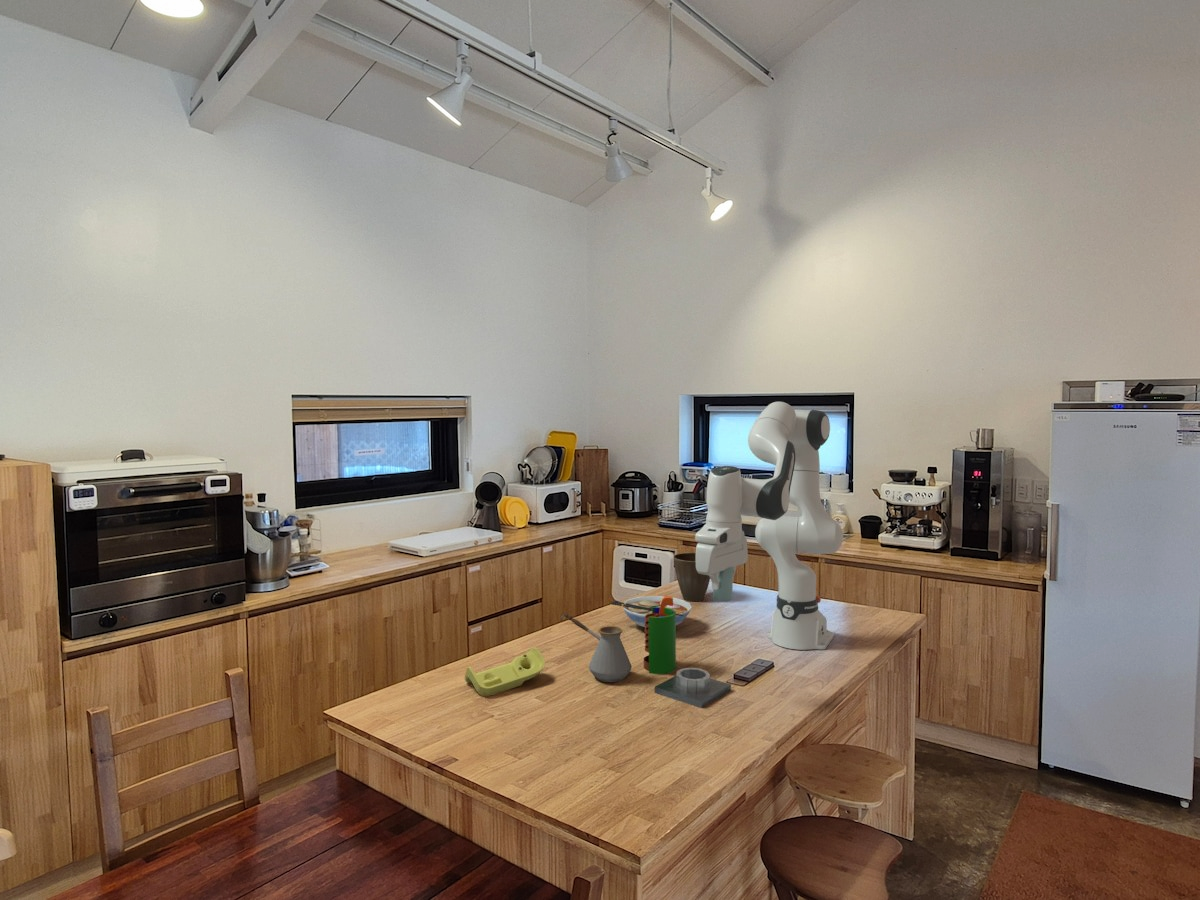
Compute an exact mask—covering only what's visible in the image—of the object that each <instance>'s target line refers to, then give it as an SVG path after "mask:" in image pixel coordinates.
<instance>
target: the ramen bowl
mask: <svg viewBox="0 0 1200 900" xmlns="http://www.w3.org/2000/svg"><path fill="white" fill-rule="evenodd" d="M665 596H666V595H665ZM665 596H663V595H643V596H637V597H636V596H635V597H632V598H630V599H626V600H625V601H618V600H614V601H611V605H613V606H620V607H622V609H623V611H624V613H625V614H626V616H627V617H628V618H629V620H630V621H631V622H633V623H635V624H637V625H638V626H640V627H644V628H645V615H647V614H651V613H652V607H660V605H661V601H662V599H663V597H665ZM665 608H670V609H673V610H674V611H675V612H676V626H678V625H680V624H682V622H683V621H684V620H685V619H686V618H687V616H688V615H689V613H690V612H691V611H692V605H691V603H690V602H689V601H686V600H684V599H680V598H678V597H677V598H676V597H673V606H669V605H667V606H665Z"/></svg>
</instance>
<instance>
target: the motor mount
mask: <svg viewBox="0 0 1200 900" xmlns="http://www.w3.org/2000/svg"><path fill="white" fill-rule="evenodd" d="M710 677H711V675H710V673H709V672H708V671H707V670H705V669H702V668H698V667H697V668H696V667H685V668H681V669H679V670H676V674H675V676H673V677H671V678H669V679H667V680H665V681H663V682H661V683H659V684H658V685H655V686H654V694H658V695H661V696H665V697H666V698H671V699H673V700H677V701H679V702H683V703H686V704H689V705H692V706H694V707H698V708H701V709H702V708H704V707H705V706H707V705H709V704H711V703H712V702H714V701H716V700H717V699H719V698H721V697H722V696H724V695H725V694H727V693H729V692H730V691H731V689H732V688H731V687H732V684H731V683H727V682H725V681H720V680H717V679H714V678H710Z"/></svg>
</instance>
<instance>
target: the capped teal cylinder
mask: <svg viewBox="0 0 1200 900" xmlns="http://www.w3.org/2000/svg"><path fill="white" fill-rule="evenodd" d="M718 578H719V581H720V582H721V588H720V589H717V590H716V589H712V599H713V600H714V601H718V602H731V601H733V584H734V577H733V567H731V568H728V569H725V570H723V571H720V572H719V576H718Z"/></svg>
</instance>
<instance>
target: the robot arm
mask: <svg viewBox="0 0 1200 900" xmlns="http://www.w3.org/2000/svg"><path fill="white" fill-rule="evenodd" d="M830 431H831V425H830V419H829V416H828V415H827V414H826V413H825V412H824V411H822V410H819V409H818V410H817V409H811V410H810V409H809V410H807V409H794V407H792V406H791V405H790V404H789V403H786V402H784V401H774V402H771V403H769V404H768V405H767V406H766V407H765V408H764V409H763V410H762V411H761V413H760V414H759V415H758V416H757V418H756V420H755V421H754V422H753V425H752V427H750V430H749V433H748V436H747V443H748V448H749V449H750V451H751V452H752V454H753V455H754V456H755V457H756V458H757V459H759V460H760V461H762V462H764V463H768V464H771V465H773V466H775V467H774V468H775V469H774V471H773V477H770V478H765V479H759V478H747V477H743V476H742V474H741V469H740V468H739V467H737V466H734V465H733V466H732V465H724V466H716V467H714V468H712V469H711V470H710V471H709V475H708V479H707V484H706V497H705V498H706V499H705V500H706V506H707V514H706V518H705V524H704V525H703V526H702V527H701V528H700V529H699V530H697V532H696V533H695V535H694V537H695V538H694V540H695V542H696V543H697V544H696V547H695V553H696V570H697V572H698V573H699V574H703V575H709V576H710V581H711V588H712V590H713V589H716V590H717V589H720V588H721V582H720V581H719V578H718V576H719V572H720V571H723V570H725V569H728V568H731V567H733V578H734V577H735V574H736V570H737V567H738V566H741V565H744V564H747V561H748V557H749V555H748V554H749V553H748V551H749V550H748V540H747V537H746V535H745V531H744V530H743V528H742V525H743V518H742V516H745V517H754V518H761V519H760V520H758V522H757V524H756V525H755V530H754V535H755V536H754V537H755V539H756V542H757V544H758V545H759V546H760V547H761V548H762V549H763V550H764V551H765V552H767V554H768V555H769V556H770V558H771V559H772V560H773V562H774V565H775V566H776V571H777V583H778V585H777V586H778V594H777V595H776V599H775V600H776V601H775V603H776V609H775V610H773V611H772V618H771V629H770V631H769V632H767V634H766V636H767V637H768V638H769V639H770V640H771V641H772V643H773V644H775V645H777V646H779V647H781V648H785V649H791V650H801V651H803V650H804V651H805V650H826V649H827V648H828V646H829V645H830V643H831V642H832V640H833V639H834V637H835V632H833V631H831V630H828V627H827V626H828V625H827V624H828V623H827V617H826V616H825V615H824V614H822V612H821V611H820V610H819V604H820V603H821V601H822V598H821V596H820V595H817V591H816V590H817V575H816V573H815V571H814V570H813V569H812V568H811V567H810V566H809V565H807V564H805V563H803V562H802V561H800V560H799V559H798V557H797V554H811V555H827V554H835V553H837V552H838V551H839V550H840V548H841V546H842V545H843V543H844V542H843V541H844V532H843V529H842V527H841V525H840V524H839V523H838V522H837V521H836V520H835V519H834V518H833V517H831V515H830V514H829V513H828V512H827V511H826V508H825V507H824V505H823V503H822V499H821V490H820V452H819V449H820V448H821V446H823V445H824V444H826V442H827V441H828V439H829V437H830ZM789 504H791V505H793V506H795V507H796V508H798V509H799V510H800V511H801V516H792V515H785V514H786V513H787V512H788V509H789V506H790V505H789Z"/></svg>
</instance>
